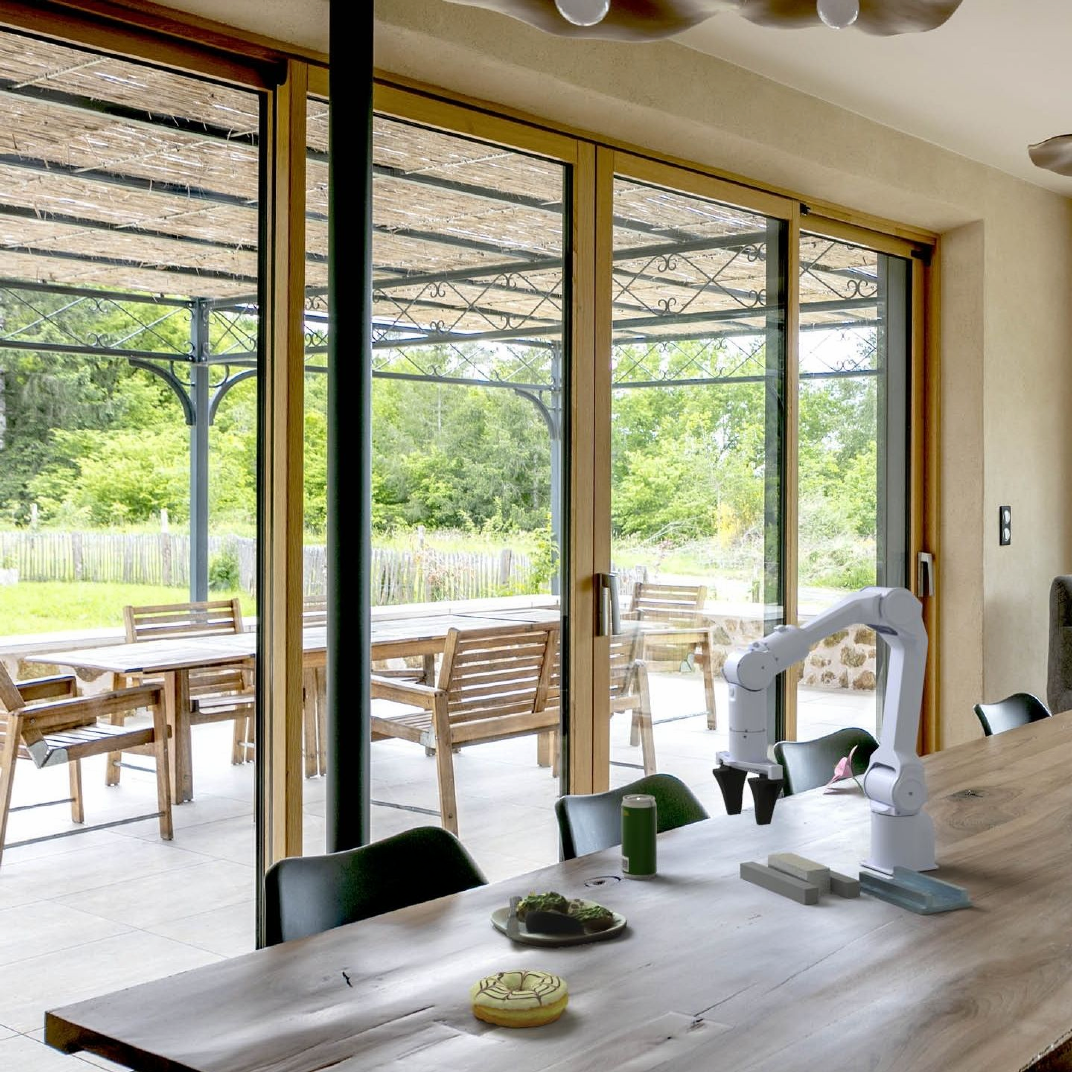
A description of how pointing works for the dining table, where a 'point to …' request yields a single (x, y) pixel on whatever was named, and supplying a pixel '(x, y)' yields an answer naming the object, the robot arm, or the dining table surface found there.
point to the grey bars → (797, 883)
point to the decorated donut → (519, 998)
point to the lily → (843, 770)
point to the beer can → (639, 836)
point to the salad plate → (557, 921)
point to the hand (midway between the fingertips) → (748, 819)
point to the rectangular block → (802, 870)
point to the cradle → (915, 891)
